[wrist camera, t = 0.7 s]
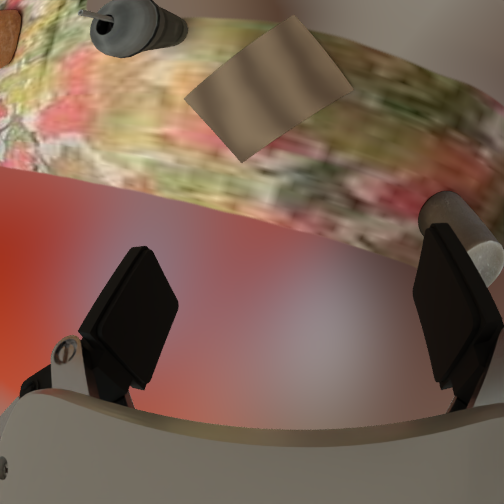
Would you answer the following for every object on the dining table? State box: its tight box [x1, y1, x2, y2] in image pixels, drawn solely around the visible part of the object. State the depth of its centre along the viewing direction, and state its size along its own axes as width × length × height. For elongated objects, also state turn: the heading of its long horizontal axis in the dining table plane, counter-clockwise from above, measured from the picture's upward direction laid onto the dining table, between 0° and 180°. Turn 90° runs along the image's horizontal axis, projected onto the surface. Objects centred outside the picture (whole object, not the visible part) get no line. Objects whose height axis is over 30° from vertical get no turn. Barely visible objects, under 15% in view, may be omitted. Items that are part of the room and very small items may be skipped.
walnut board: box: [184, 15, 354, 163], centre depth 31 cm, size 18×12×2 cm, turn 130°
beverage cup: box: [78, 0, 188, 58], centre depth 20 cm, size 7×7×20 cm
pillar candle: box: [418, 191, 504, 287], centre depth 32 cm, size 10×10×15 cm
